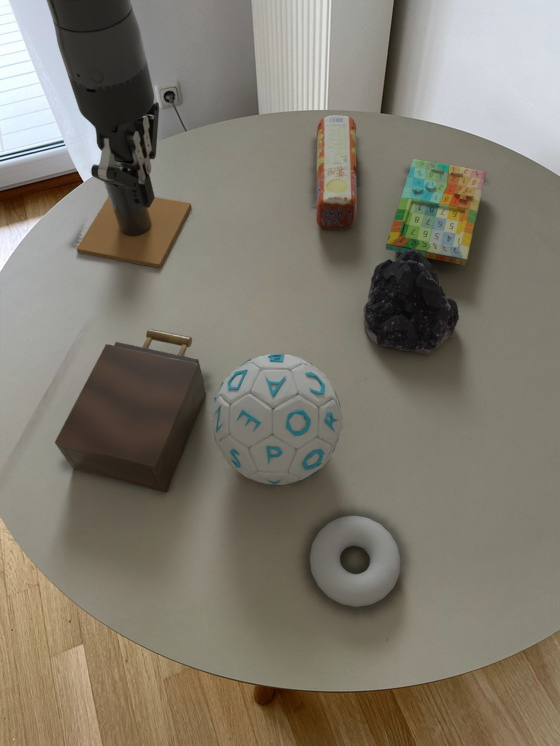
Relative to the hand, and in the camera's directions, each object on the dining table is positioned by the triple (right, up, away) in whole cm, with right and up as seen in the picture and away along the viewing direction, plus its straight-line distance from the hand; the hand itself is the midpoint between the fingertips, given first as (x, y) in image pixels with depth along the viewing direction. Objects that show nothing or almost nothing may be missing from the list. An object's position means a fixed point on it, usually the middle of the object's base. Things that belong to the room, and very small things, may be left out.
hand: (144, 202), depth 75 cm
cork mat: (-7, +3, +29) cm, 30 cm away
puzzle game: (+40, +4, +27) cm, 49 cm away
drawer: (-1, -24, +10) cm, 25 cm away
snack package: (+25, +11, +33) cm, 43 cm away
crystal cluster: (+34, -12, +17) cm, 40 cm away
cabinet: (-2, -27, +8) cm, 28 cm away
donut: (+24, -41, -2) cm, 48 cm away
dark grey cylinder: (-7, +4, +28) cm, 30 cm away
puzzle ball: (+16, -29, +6) cm, 34 cm away
